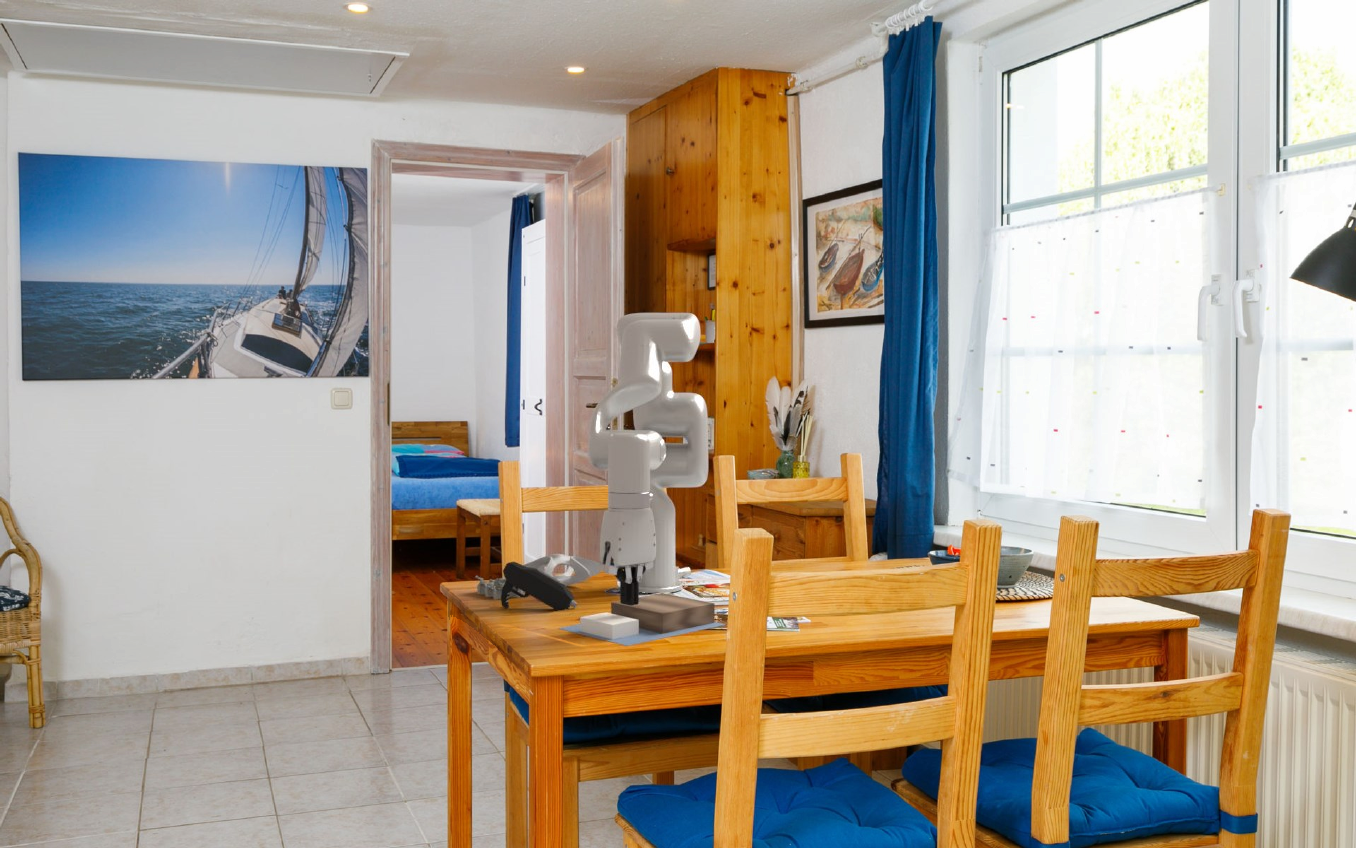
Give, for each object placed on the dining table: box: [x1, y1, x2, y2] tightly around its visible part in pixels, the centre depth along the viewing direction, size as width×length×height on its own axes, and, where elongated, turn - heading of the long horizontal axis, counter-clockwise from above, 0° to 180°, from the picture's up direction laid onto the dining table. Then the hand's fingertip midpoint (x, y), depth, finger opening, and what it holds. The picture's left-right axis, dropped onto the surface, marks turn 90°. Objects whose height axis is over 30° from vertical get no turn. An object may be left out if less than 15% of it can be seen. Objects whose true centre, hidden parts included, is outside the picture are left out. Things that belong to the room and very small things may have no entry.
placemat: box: [557, 621, 727, 647], centre depth 202 cm, size 24×19×1 cm
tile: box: [579, 612, 639, 639], centre depth 197 cm, size 6×9×2 cm, turn 43°
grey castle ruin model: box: [474, 575, 525, 600], centre depth 236 cm, size 11×8×4 cm
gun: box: [500, 561, 578, 612], centre depth 220 cm, size 3×16×10 cm, turn 79°
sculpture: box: [522, 553, 605, 587], centre depth 249 cm, size 18×20×6 cm
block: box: [610, 593, 716, 634], centre depth 206 cm, size 13×14×4 cm
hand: (629, 603), depth 200 cm, fingers closed
